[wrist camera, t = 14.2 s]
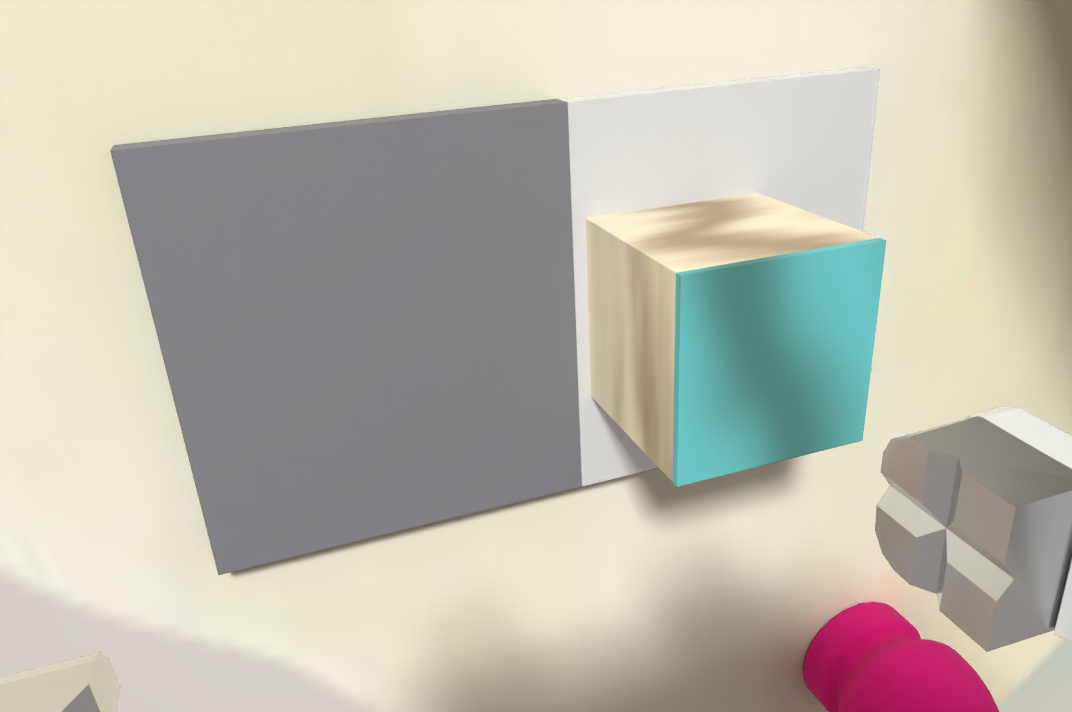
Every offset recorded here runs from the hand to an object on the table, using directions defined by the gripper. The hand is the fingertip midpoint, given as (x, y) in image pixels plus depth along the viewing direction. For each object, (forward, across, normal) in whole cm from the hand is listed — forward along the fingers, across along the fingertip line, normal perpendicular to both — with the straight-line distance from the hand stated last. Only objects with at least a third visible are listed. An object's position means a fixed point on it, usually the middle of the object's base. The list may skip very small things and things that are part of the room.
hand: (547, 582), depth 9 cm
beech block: (+14, -12, +6) cm, 19 cm away
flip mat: (+22, -7, +6) cm, 24 cm away
